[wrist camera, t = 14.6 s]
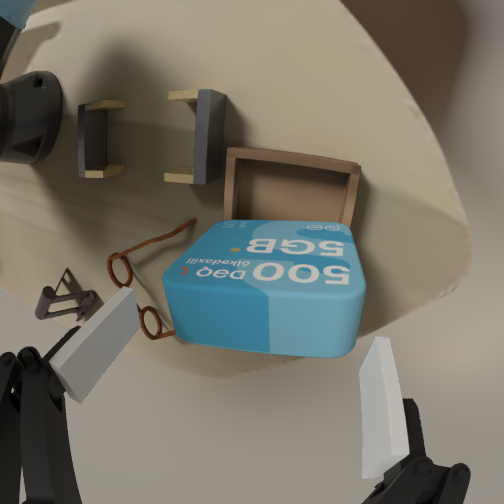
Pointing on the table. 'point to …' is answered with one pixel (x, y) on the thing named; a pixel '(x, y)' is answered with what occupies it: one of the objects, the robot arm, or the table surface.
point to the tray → (288, 186)
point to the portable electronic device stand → (50, 297)
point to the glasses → (130, 277)
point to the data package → (269, 288)
